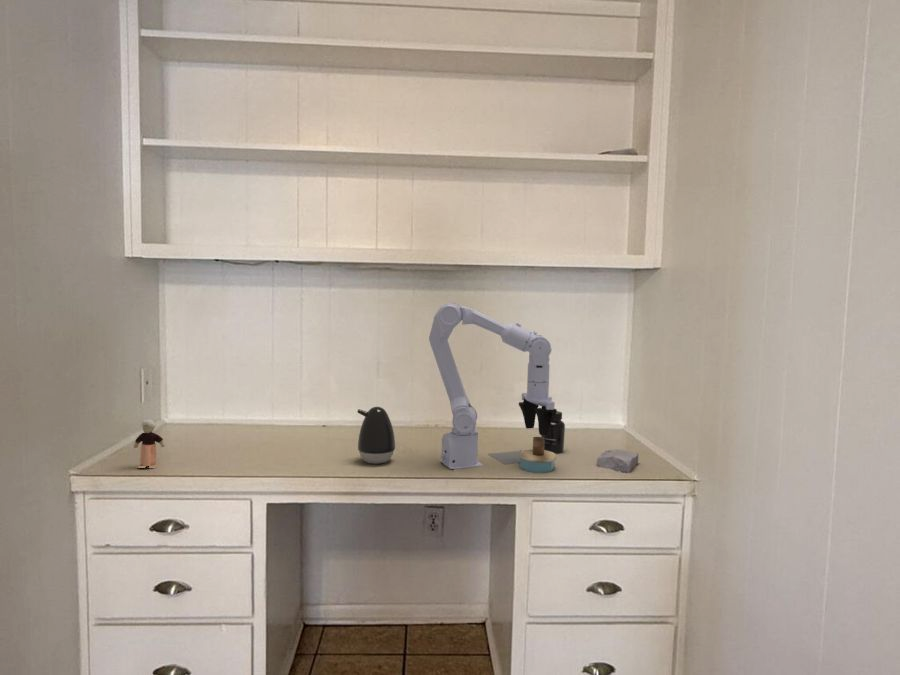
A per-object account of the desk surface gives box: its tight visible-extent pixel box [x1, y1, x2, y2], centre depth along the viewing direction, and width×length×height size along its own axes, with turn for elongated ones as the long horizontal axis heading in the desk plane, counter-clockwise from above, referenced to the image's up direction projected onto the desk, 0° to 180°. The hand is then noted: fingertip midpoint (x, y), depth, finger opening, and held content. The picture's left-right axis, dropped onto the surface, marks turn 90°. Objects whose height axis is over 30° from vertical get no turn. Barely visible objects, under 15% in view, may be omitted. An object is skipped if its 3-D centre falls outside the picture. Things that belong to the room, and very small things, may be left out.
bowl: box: [519, 457, 555, 474], centre depth 165 cm, size 8×8×3 cm
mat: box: [487, 450, 523, 465], centre depth 175 cm, size 11×11×1 cm
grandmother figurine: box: [132, 418, 166, 466], centre depth 159 cm, size 8×4×13 cm, turn 106°
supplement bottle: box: [540, 410, 566, 455], centre depth 182 cm, size 7×7×12 cm
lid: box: [520, 436, 557, 462], centre depth 165 cm, size 10×10×5 cm
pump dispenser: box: [357, 406, 396, 465], centre depth 169 cm, size 10×10×15 cm
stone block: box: [596, 449, 639, 473], centre depth 170 cm, size 12×5×10 cm
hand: (536, 431), depth 166 cm, fingers open, 7 cm apart
